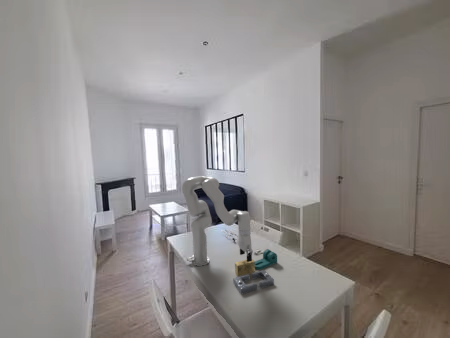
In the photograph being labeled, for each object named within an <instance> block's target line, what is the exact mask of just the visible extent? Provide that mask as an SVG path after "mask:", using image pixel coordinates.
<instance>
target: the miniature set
mask: <svg viewBox="0 0 450 338" xmlns="http://www.w3.org/2000/svg"><path fill="white" fill-rule="evenodd" d="M220 231H221V232H222V233H223V234H225V235H226V239H228V238H230V237H231V235H232V236H233V235H234V236H233V237H232V239H231V240H232V241H233V242H235V241H236V242H235V243H236V244H237V245H238V235H237V233H236V232H234V231H233V229H230V230H227V229H225V230H222V229H220ZM230 234H231V235H230ZM234 237H235V238H234ZM236 239H237V240H236Z"/></svg>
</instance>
